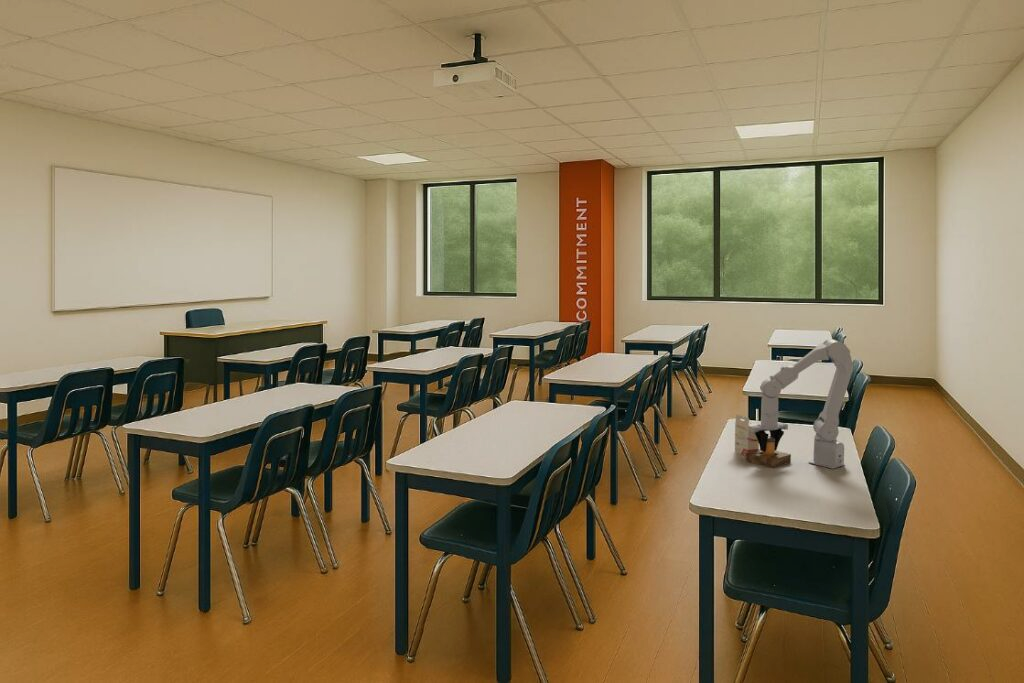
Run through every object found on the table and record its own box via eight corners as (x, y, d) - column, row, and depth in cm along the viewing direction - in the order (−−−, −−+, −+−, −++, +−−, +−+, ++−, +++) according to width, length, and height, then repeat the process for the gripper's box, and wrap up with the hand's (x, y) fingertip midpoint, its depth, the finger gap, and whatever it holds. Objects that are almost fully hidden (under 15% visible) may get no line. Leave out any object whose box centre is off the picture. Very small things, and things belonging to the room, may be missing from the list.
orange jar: (777, 459, 255) (777, 437, 255) (770, 461, 253) (770, 439, 252) (766, 457, 259) (767, 435, 258) (759, 459, 256) (760, 437, 255)
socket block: (790, 462, 255) (790, 454, 255) (773, 468, 248) (773, 459, 248) (763, 455, 264) (763, 447, 263) (745, 461, 257) (745, 453, 257)
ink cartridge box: (759, 456, 263) (760, 417, 262) (747, 457, 262) (748, 418, 260) (745, 450, 271) (746, 412, 270) (733, 451, 270) (734, 413, 268)
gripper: (759, 417, 248) (758, 455, 250) (794, 413, 252) (792, 451, 254) (746, 412, 255) (745, 450, 256) (781, 409, 259) (779, 446, 261)
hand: (768, 450), depth 256 cm, fingers closed on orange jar, 4 cm apart
